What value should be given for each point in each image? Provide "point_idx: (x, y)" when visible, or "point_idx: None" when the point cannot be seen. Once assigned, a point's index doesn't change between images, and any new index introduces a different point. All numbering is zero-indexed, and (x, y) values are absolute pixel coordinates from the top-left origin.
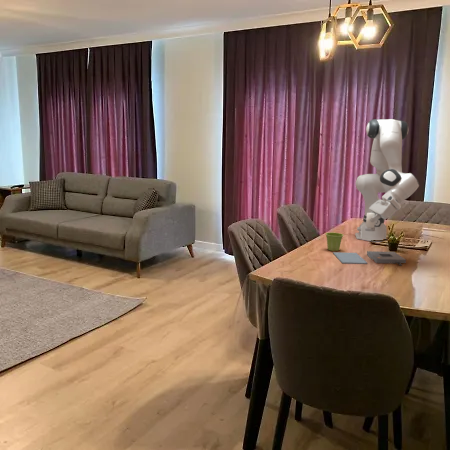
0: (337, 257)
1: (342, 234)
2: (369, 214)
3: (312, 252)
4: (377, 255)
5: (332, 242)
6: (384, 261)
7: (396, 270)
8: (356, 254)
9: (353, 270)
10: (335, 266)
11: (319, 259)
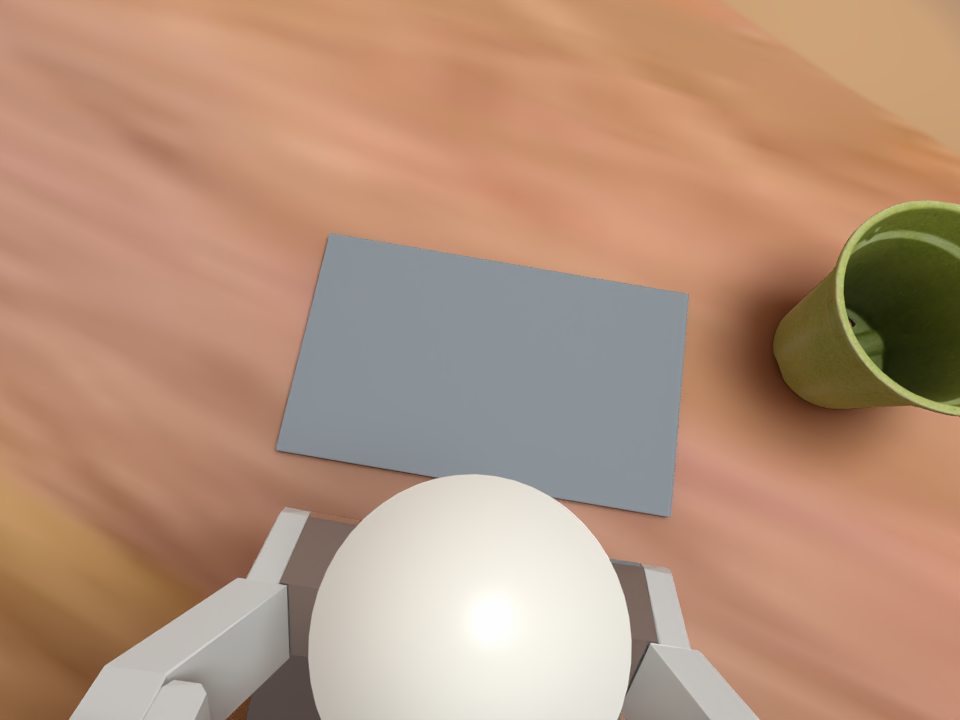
0: (511, 265)
1: (958, 407)
2: (372, 514)
3: (722, 141)
4: None
5: (818, 288)
6: None
7: (6, 631)
8: (599, 487)
9: (112, 238)
10: (256, 151)
11: (484, 113)
